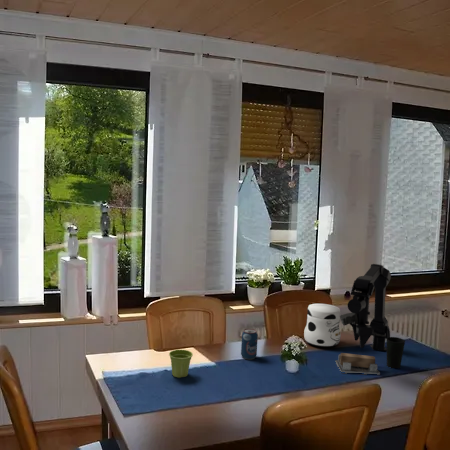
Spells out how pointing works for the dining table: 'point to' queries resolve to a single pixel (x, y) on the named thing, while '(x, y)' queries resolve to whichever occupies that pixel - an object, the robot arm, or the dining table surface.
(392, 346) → the cup
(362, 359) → the rail
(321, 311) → the milk container
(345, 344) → the dining table surface
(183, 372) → the plant pot
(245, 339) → the soda can
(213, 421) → the dining table surface
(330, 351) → the dining table surface
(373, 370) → the brackets
